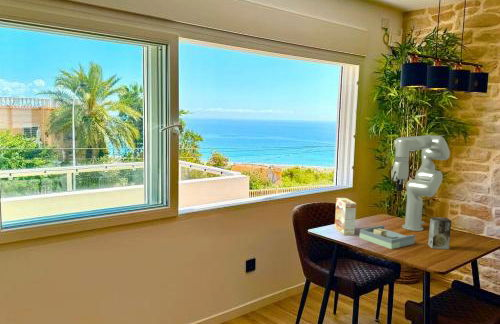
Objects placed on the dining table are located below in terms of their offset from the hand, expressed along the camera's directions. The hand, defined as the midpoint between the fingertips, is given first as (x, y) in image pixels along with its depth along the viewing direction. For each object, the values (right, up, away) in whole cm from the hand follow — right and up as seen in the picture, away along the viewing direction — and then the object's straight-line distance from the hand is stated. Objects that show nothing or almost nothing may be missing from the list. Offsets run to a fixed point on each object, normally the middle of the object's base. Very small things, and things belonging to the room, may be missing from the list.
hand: (399, 190), depth 234 cm
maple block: (-16, -25, -12) cm, 32 cm away
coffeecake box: (-31, -26, +6) cm, 41 cm away
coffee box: (+15, -30, -17) cm, 38 cm away
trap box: (-11, -28, -9) cm, 31 cm away
